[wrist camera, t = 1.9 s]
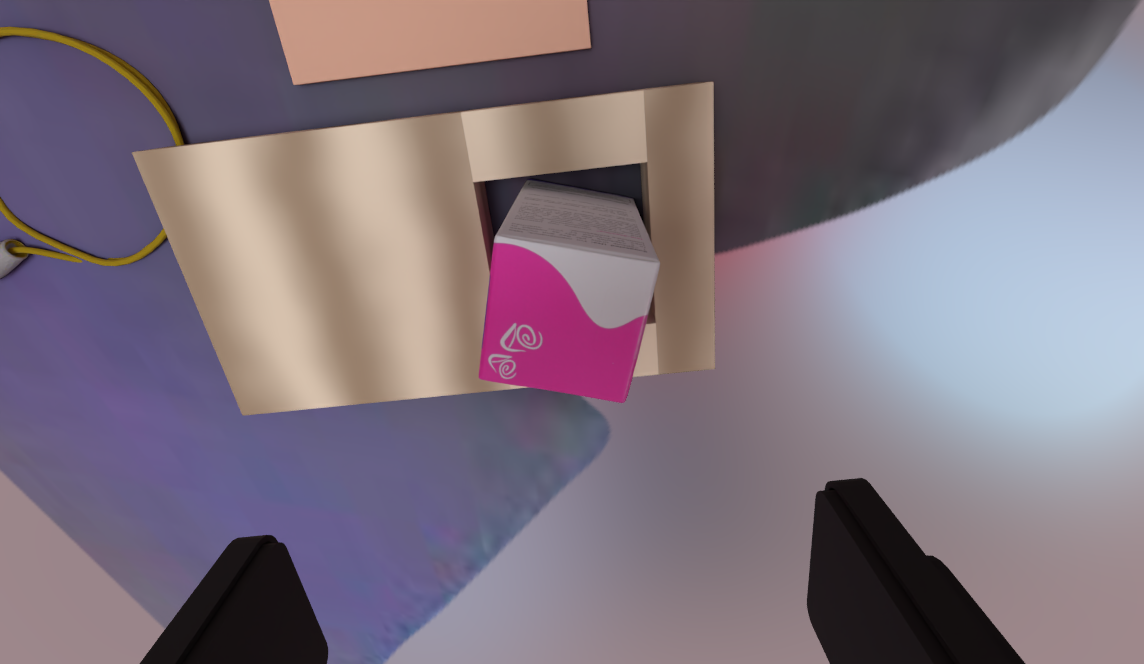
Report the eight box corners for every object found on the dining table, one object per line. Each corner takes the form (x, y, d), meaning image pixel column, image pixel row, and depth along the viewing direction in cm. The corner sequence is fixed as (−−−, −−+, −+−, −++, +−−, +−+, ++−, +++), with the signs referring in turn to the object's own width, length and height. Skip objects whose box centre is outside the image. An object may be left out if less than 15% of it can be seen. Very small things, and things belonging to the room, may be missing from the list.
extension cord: (-170, 41, 26) (-226, 38, 24) (155, 17, 26) (123, 12, 24) (-37, 285, 31) (-75, 297, 29) (237, 268, 30) (216, 279, 29)
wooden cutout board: (698, 82, 26) (713, 81, 23) (702, 344, 32) (715, 368, 29) (175, 145, 27) (131, 152, 25) (269, 388, 33) (242, 415, 30)
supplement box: (522, 175, 28) (493, 229, 18) (635, 196, 28) (673, 260, 18) (508, 282, 30) (475, 384, 20) (612, 299, 31) (634, 408, 20)
